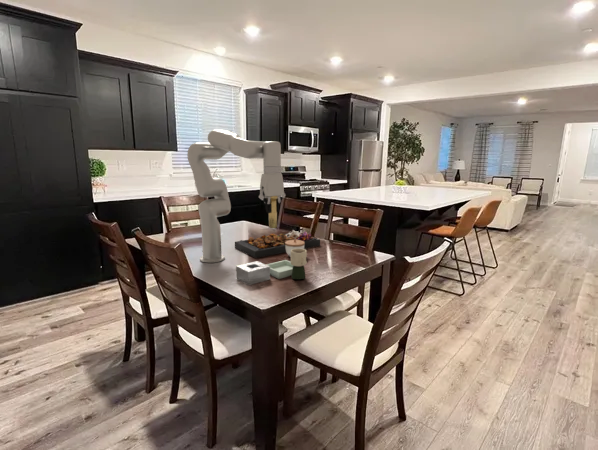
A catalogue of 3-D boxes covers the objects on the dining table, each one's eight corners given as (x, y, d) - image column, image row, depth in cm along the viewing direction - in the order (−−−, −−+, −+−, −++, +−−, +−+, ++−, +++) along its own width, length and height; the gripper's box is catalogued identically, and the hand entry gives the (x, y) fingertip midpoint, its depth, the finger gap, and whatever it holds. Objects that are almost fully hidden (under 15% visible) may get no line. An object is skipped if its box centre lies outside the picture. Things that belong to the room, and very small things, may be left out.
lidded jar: (300, 259, 182) (300, 242, 180) (281, 257, 185) (281, 240, 183) (307, 254, 191) (307, 238, 190) (289, 252, 195) (289, 236, 193)
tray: (262, 271, 163) (262, 265, 163) (285, 265, 172) (285, 259, 171) (279, 278, 153) (278, 272, 153) (302, 272, 162) (302, 266, 162)
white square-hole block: (236, 278, 153) (236, 265, 152) (257, 273, 160) (257, 261, 159) (248, 285, 146) (248, 271, 144) (270, 279, 153) (270, 266, 152)
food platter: (296, 238, 230) (296, 223, 227) (320, 246, 210) (320, 230, 208) (234, 249, 203) (234, 232, 201) (255, 259, 184) (255, 240, 182)
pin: (265, 227, 155) (265, 195, 152) (274, 225, 158) (273, 195, 155) (271, 228, 151) (270, 196, 149) (280, 227, 154) (279, 195, 151)
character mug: (311, 281, 151) (311, 252, 148) (296, 283, 148) (296, 254, 145) (300, 273, 160) (300, 246, 158) (286, 275, 157) (286, 248, 155)
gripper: (282, 169, 158) (282, 209, 161) (251, 170, 148) (252, 212, 151) (292, 170, 152) (292, 211, 155) (260, 171, 142) (261, 215, 145)
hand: (272, 211), depth 153 cm, fingers closed on pin, 3 cm apart
